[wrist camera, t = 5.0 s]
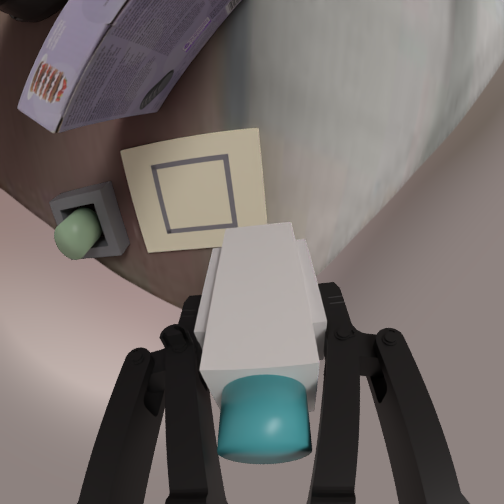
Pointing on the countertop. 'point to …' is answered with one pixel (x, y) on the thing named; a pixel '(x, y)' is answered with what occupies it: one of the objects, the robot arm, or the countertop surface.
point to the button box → (107, 214)
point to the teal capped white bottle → (261, 347)
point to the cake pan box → (116, 58)
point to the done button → (78, 233)
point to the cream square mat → (196, 188)
